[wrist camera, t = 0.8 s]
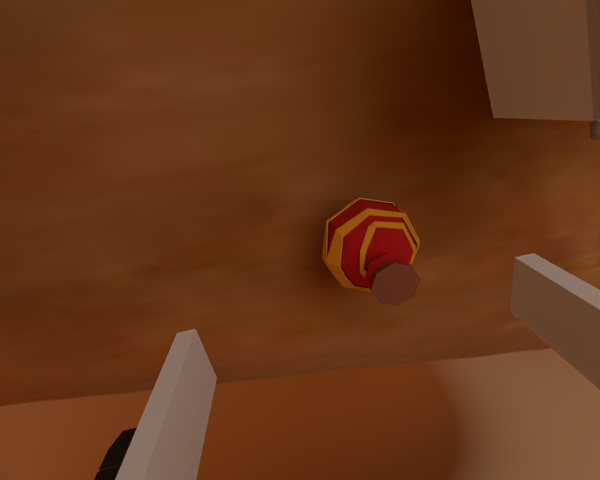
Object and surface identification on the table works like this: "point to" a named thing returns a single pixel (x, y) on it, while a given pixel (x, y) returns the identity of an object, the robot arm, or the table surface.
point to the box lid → (594, 52)
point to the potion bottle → (372, 249)
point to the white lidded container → (536, 59)
